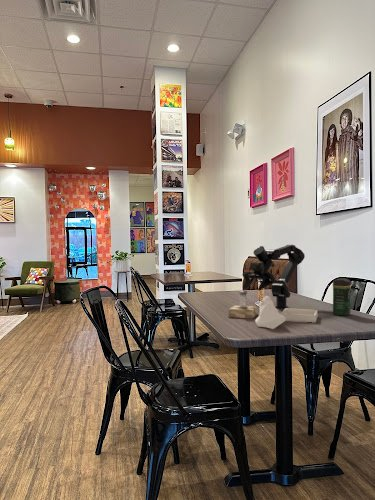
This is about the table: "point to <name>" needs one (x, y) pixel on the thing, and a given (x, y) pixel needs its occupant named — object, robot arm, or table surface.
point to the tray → (300, 315)
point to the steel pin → (243, 299)
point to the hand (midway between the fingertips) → (251, 289)
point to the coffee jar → (341, 296)
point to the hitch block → (243, 312)
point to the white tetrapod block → (269, 315)
